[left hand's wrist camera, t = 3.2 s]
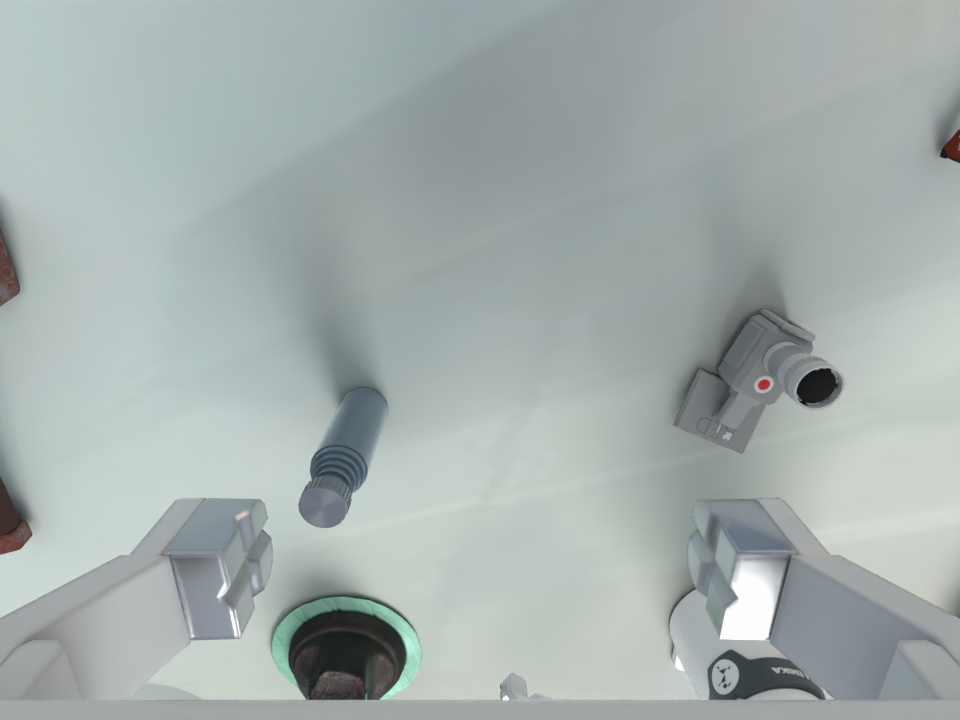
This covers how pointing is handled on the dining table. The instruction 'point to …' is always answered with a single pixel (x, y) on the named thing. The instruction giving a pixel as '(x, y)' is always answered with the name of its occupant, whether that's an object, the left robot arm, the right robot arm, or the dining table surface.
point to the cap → (325, 501)
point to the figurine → (952, 148)
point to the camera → (758, 381)
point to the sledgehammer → (3, 524)
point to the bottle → (351, 438)
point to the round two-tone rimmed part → (346, 650)
